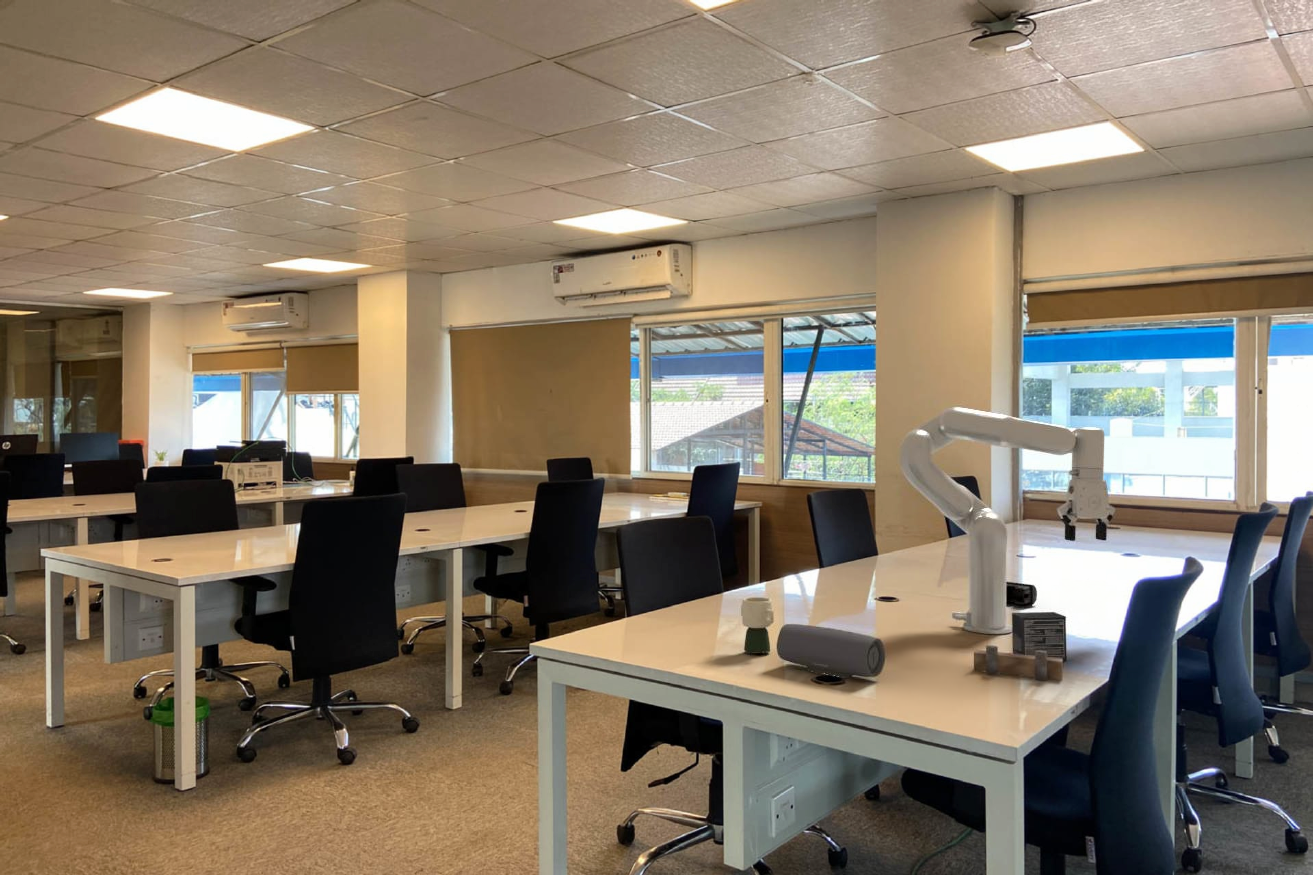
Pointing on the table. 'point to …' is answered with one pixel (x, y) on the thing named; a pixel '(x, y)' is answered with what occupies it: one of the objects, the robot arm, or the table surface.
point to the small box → (1039, 634)
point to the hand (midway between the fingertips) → (1085, 540)
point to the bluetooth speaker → (831, 650)
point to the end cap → (1020, 595)
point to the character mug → (757, 623)
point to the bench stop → (1018, 664)
